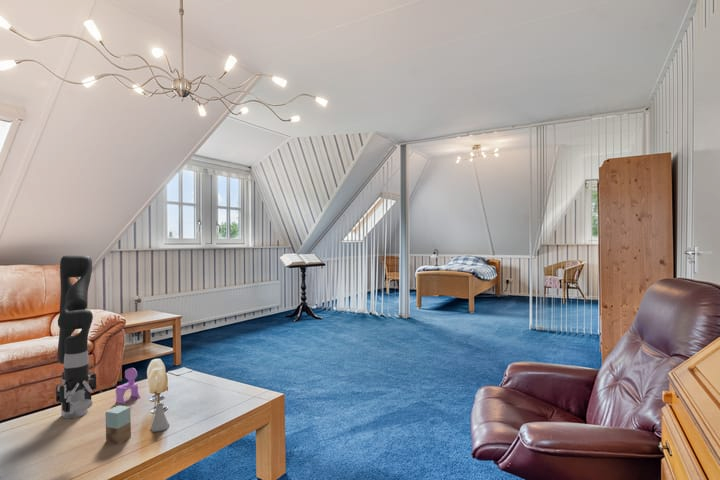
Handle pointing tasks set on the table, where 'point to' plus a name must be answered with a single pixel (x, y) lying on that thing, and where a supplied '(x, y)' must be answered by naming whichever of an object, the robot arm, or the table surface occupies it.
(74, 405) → the mannequin head
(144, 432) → the table surface
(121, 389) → the purple figure shape
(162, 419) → the flask
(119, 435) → the tower bottom
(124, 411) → the tower top
